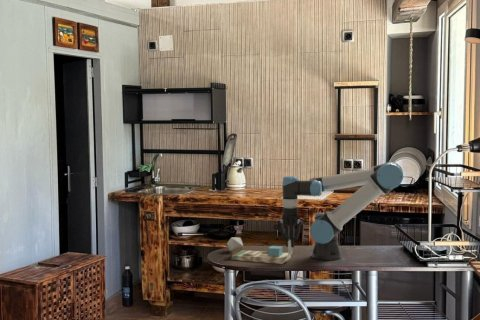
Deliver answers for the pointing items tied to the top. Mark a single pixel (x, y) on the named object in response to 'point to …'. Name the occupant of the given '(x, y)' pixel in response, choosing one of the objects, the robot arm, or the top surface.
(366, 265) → the top surface
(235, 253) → the trap board
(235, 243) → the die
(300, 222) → the robot arm
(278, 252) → the block
